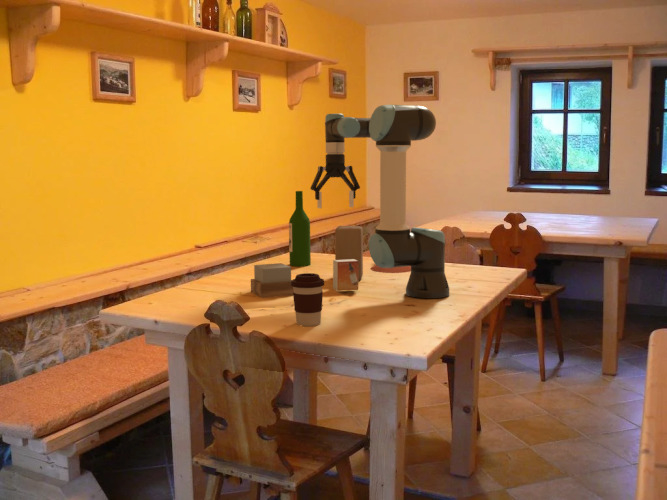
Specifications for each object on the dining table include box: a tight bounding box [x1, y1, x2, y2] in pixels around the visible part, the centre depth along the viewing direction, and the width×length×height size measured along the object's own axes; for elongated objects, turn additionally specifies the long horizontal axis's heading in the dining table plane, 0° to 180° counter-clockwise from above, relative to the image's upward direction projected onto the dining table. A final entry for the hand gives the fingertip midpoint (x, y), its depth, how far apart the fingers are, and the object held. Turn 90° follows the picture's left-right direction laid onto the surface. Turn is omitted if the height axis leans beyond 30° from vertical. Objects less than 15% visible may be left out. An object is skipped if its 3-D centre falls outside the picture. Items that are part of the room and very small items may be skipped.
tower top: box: [253, 262, 292, 284], centre depth 255 cm, size 10×10×5 cm
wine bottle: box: [288, 190, 312, 268], centre depth 313 cm, size 9×9×32 cm
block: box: [334, 225, 364, 281], centre depth 284 cm, size 10×10×20 cm
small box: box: [332, 259, 359, 292], centre depth 261 cm, size 8×6×10 cm
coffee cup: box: [291, 272, 325, 327], centre depth 221 cm, size 10×10×15 cm
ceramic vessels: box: [370, 264, 411, 274], centre depth 310 cm, size 35×21×19 cm, turn 171°
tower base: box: [250, 278, 294, 299], centre depth 255 cm, size 12×12×5 cm
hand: (335, 207), depth 292 cm, fingers open, 13 cm apart
